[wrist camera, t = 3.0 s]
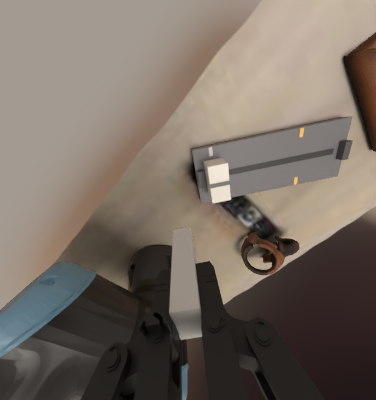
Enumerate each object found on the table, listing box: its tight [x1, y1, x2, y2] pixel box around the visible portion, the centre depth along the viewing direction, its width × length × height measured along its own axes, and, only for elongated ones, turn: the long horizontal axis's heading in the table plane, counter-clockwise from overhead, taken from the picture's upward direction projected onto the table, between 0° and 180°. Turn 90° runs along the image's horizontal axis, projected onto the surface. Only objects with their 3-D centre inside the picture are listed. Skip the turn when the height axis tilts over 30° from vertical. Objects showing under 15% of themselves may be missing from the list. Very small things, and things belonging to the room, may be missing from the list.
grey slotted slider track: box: [191, 117, 352, 203], centre depth 28 cm, size 26×10×3 cm, turn 101°
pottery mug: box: [241, 232, 299, 275], centre depth 36 cm, size 12×10×8 cm
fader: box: [203, 158, 231, 203], centre depth 25 cm, size 3×6×4 cm, turn 11°
